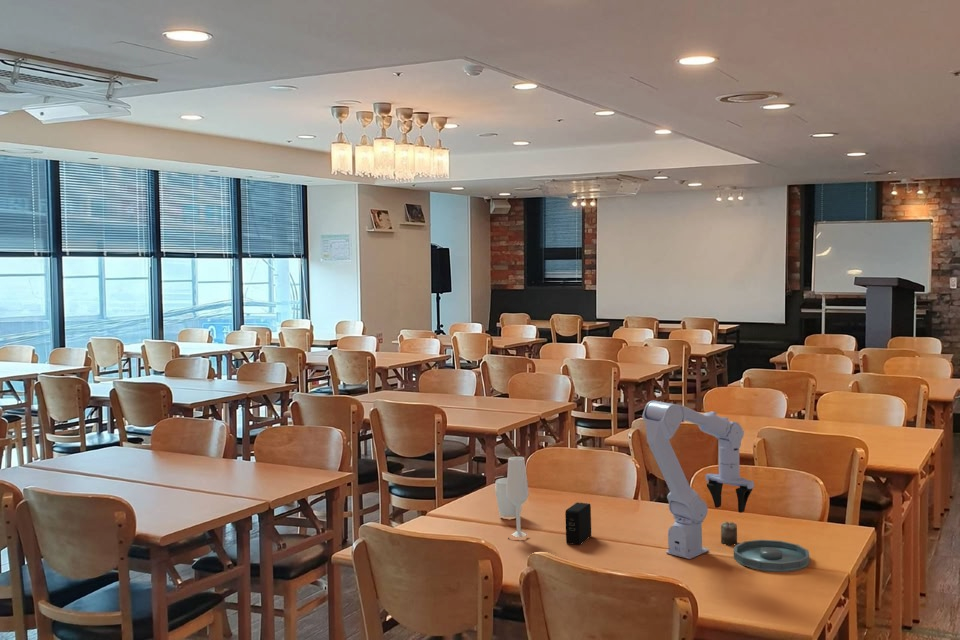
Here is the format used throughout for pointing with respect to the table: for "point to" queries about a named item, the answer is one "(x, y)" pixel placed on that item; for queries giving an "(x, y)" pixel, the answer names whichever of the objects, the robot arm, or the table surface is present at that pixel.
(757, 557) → the round groove tray
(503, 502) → the cup
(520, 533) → the champagne flute
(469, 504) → the table surface
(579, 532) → the electronic device
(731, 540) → the brown ball-rimmed cylinder
